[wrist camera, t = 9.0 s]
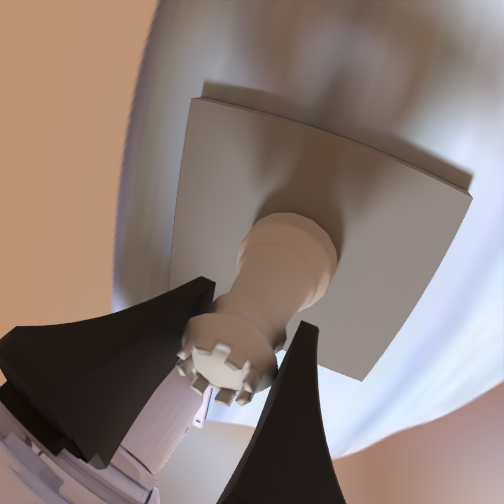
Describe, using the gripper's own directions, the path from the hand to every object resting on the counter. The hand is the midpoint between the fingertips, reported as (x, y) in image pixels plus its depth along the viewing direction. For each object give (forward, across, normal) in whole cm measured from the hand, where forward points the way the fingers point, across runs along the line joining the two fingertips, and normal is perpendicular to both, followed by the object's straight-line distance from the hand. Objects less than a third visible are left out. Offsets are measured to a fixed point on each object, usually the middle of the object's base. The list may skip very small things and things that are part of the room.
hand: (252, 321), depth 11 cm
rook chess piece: (+5, 0, 0) cm, 5 cm away
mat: (+6, 0, 0) cm, 6 cm away
